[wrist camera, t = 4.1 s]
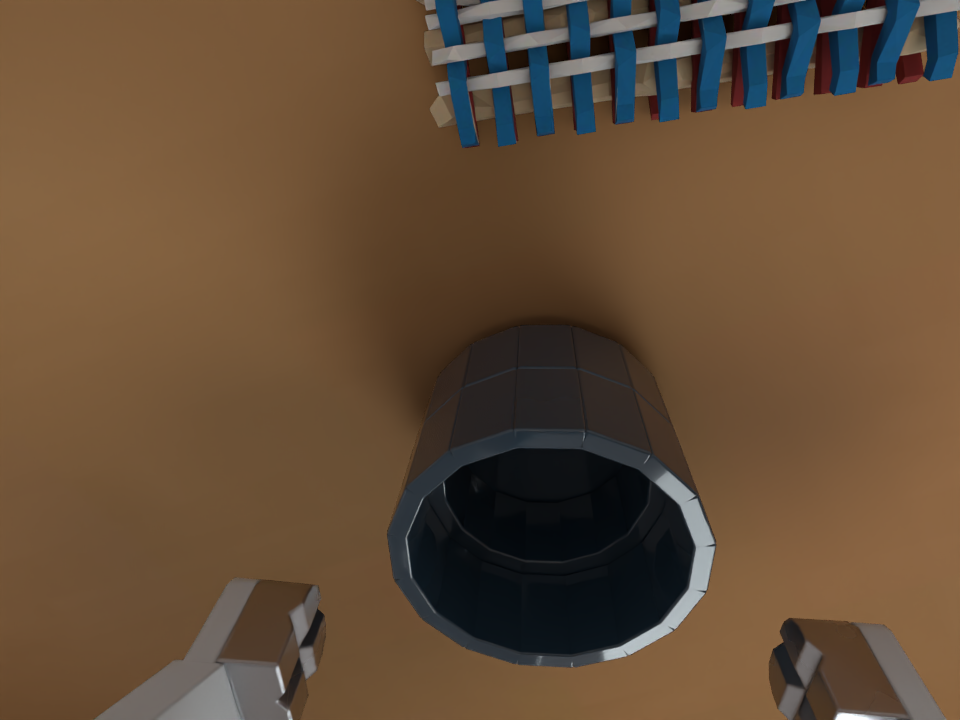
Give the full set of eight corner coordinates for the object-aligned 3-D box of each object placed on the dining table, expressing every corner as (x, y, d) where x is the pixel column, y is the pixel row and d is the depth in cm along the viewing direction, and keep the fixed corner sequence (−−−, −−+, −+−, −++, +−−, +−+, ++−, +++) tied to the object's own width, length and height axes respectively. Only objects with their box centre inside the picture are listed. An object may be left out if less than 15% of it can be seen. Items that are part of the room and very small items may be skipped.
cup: (711, 423, 16) (783, 572, 12) (541, 542, 19) (544, 703, 14) (545, 263, 15) (551, 362, 10) (383, 418, 17) (326, 555, 13)
